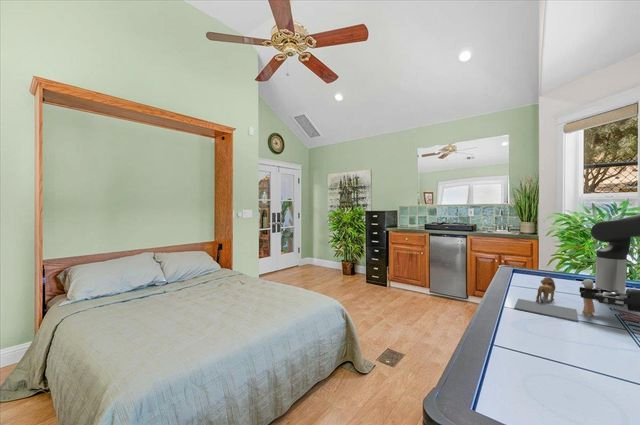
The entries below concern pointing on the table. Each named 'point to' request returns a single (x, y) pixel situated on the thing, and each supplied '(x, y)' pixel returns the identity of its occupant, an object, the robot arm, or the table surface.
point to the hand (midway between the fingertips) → (580, 291)
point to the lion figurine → (546, 289)
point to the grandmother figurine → (588, 302)
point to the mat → (547, 309)
